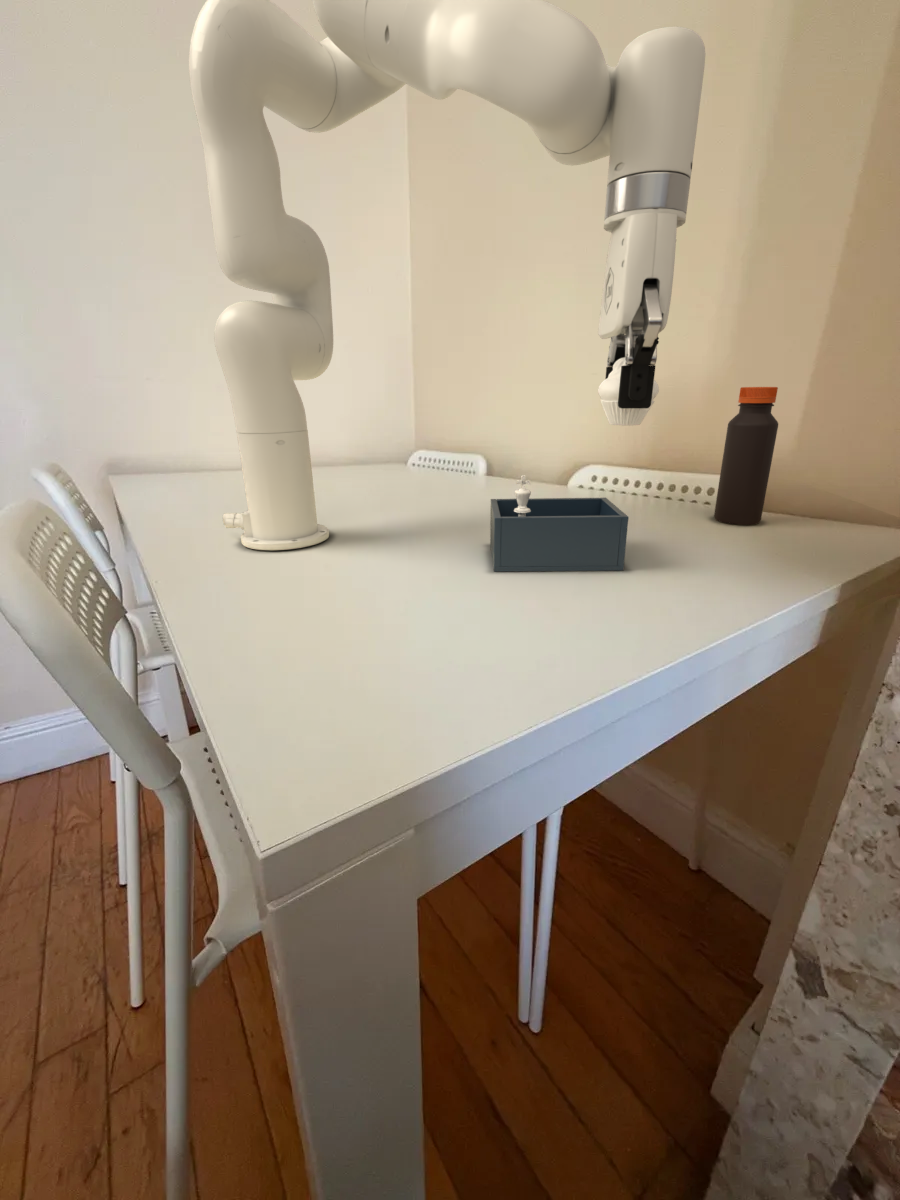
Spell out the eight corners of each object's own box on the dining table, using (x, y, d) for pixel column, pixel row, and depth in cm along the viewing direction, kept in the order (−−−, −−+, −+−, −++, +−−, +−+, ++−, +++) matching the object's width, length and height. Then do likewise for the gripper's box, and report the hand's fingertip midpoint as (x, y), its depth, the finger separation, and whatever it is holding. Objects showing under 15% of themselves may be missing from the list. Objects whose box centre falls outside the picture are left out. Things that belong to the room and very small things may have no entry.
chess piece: (542, 558, 72) (545, 478, 68) (503, 558, 72) (504, 479, 68) (537, 547, 76) (540, 472, 73) (500, 548, 76) (501, 472, 73)
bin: (493, 571, 69) (494, 518, 67) (490, 545, 80) (490, 498, 77) (623, 570, 68) (628, 516, 66) (602, 544, 79) (606, 497, 77)
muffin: (656, 423, 63) (664, 354, 60) (652, 427, 58) (661, 352, 55) (599, 421, 65) (605, 355, 63) (590, 425, 60) (596, 353, 57)
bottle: (707, 515, 94) (726, 387, 87) (750, 516, 94) (773, 386, 86) (721, 525, 88) (743, 387, 81) (767, 526, 87) (794, 387, 80)
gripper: (589, 230, 63) (576, 403, 69) (628, 179, 46) (607, 411, 53) (658, 229, 62) (639, 403, 69) (721, 177, 46) (689, 411, 53)
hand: (625, 404), depth 61 cm, fingers closed on muffin, 6 cm apart
